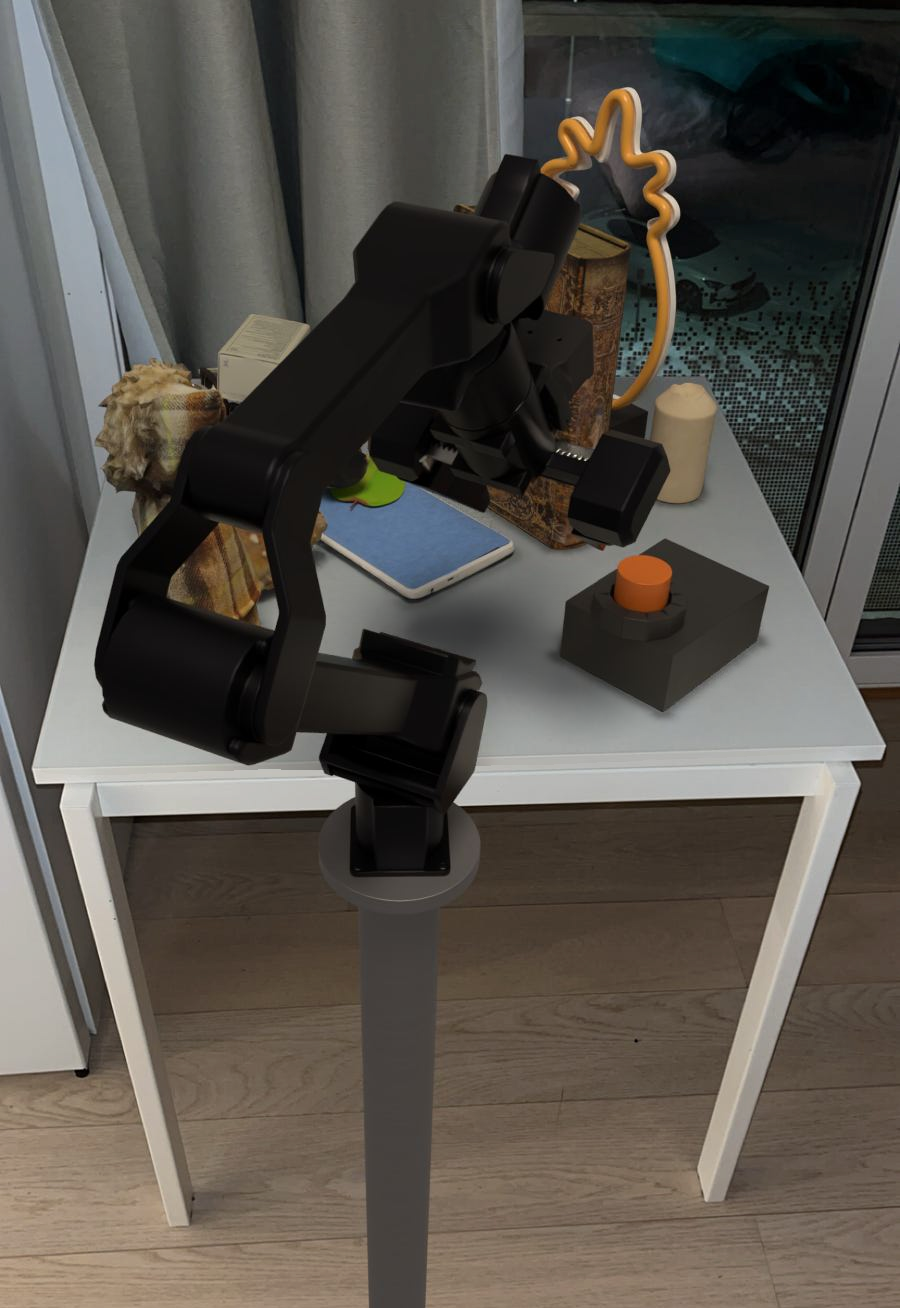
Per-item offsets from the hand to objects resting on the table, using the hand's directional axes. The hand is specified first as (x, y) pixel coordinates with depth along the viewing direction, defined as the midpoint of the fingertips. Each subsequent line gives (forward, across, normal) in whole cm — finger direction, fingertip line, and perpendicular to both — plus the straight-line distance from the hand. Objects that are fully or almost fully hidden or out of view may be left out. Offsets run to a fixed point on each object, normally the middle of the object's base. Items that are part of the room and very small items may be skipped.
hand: (543, 524), depth 87 cm
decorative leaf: (+17, +26, -8) cm, 32 cm away
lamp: (+34, +16, -24) cm, 44 cm away
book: (+26, +15, -12) cm, 33 cm away
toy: (+16, +36, -7) cm, 40 cm away
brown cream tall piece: (+6, +23, +18) cm, 30 cm away
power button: (+11, -5, -2) cm, 12 cm away
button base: (+19, -5, -1) cm, 20 cm away
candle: (+32, +5, -21) cm, 39 cm away
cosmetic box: (+22, +45, -20) cm, 54 cm away
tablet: (+20, +22, -3) cm, 30 cm away
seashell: (+13, +27, +7) cm, 31 cm away
